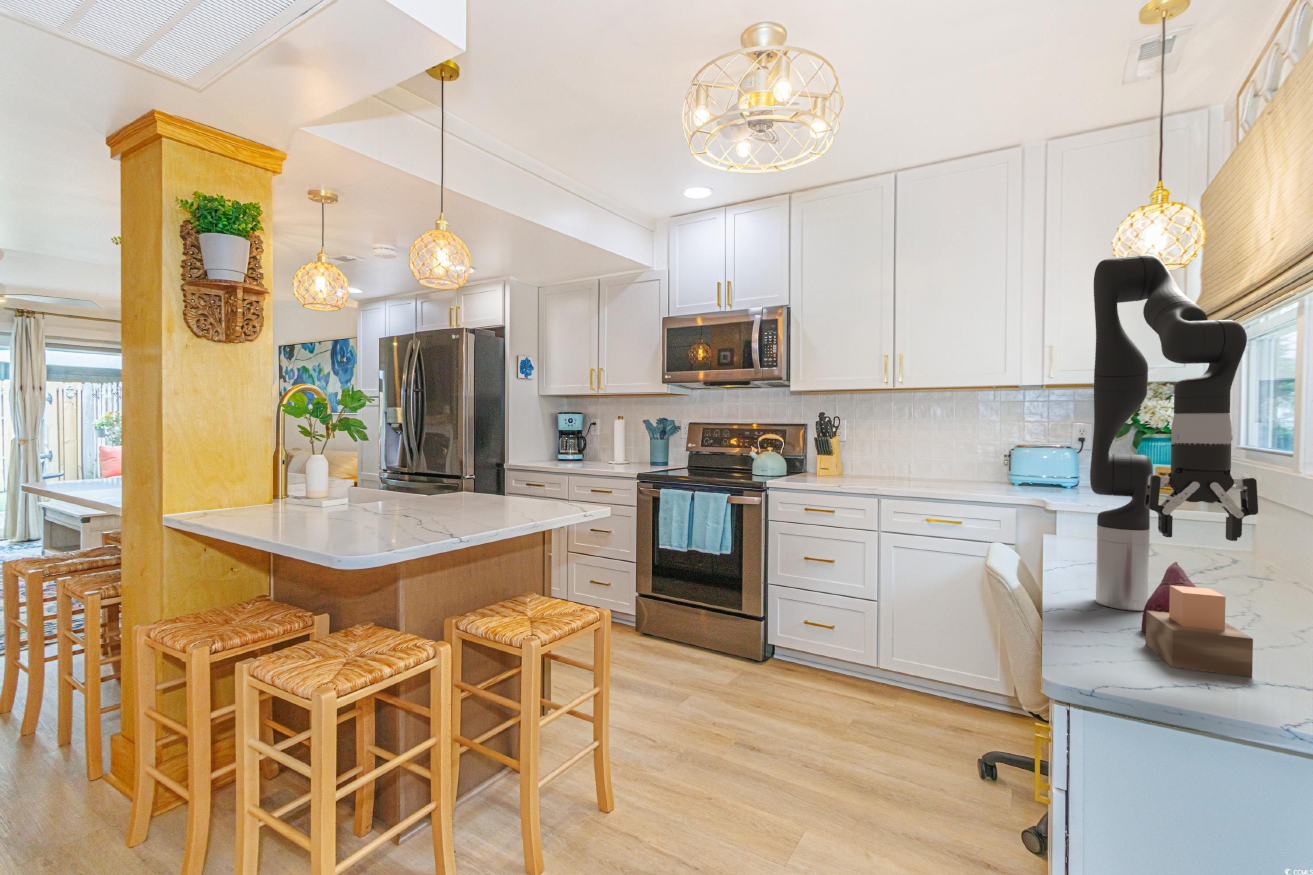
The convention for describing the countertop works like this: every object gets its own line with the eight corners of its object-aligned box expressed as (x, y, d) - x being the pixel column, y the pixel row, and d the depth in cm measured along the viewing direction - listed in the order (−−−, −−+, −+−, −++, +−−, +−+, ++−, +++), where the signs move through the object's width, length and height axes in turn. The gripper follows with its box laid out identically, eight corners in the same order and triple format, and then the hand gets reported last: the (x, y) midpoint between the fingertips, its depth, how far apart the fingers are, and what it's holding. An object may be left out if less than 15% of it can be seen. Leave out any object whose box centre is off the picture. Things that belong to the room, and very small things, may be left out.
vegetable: (1144, 641, 122) (1134, 564, 126) (1215, 646, 115) (1201, 564, 119) (1141, 641, 114) (1130, 558, 118) (1216, 646, 108) (1202, 559, 112)
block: (1169, 617, 107) (1169, 585, 107) (1209, 621, 105) (1210, 588, 105) (1182, 626, 102) (1182, 592, 102) (1224, 630, 100) (1225, 596, 99)
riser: (1145, 643, 111) (1146, 610, 111) (1216, 652, 107) (1217, 617, 107) (1172, 667, 100) (1172, 629, 99) (1252, 677, 96) (1252, 638, 96)
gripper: (1244, 441, 103) (1242, 537, 104) (1140, 440, 109) (1138, 532, 109) (1268, 442, 97) (1266, 545, 97) (1156, 441, 102) (1154, 539, 102)
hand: (1198, 538), depth 103 cm, fingers open, 8 cm apart
